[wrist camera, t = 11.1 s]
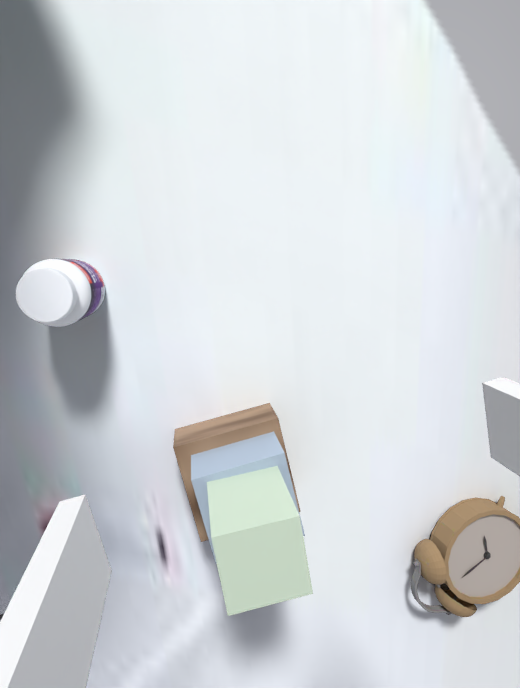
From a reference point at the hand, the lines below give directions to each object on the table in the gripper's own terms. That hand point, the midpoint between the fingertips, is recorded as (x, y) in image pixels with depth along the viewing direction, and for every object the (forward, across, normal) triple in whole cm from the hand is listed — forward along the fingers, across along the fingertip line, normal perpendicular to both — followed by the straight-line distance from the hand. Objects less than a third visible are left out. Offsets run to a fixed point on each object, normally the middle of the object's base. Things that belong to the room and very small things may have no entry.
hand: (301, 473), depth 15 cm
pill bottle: (+32, -12, +6) cm, 35 cm away
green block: (+22, -2, -14) cm, 26 cm away
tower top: (+27, -2, -14) cm, 31 cm away
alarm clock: (+32, +21, -33) cm, 50 cm away
